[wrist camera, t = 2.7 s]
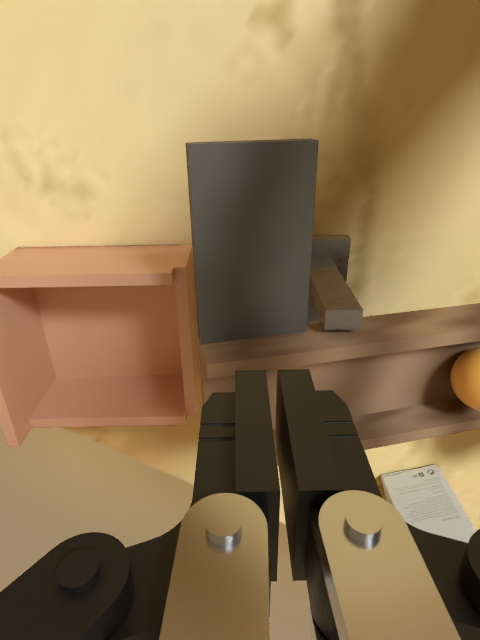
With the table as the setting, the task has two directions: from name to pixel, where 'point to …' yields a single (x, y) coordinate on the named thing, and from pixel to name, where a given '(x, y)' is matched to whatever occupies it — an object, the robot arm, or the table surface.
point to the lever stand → (332, 285)
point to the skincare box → (428, 502)
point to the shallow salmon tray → (97, 337)
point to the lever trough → (292, 301)
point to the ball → (467, 378)
